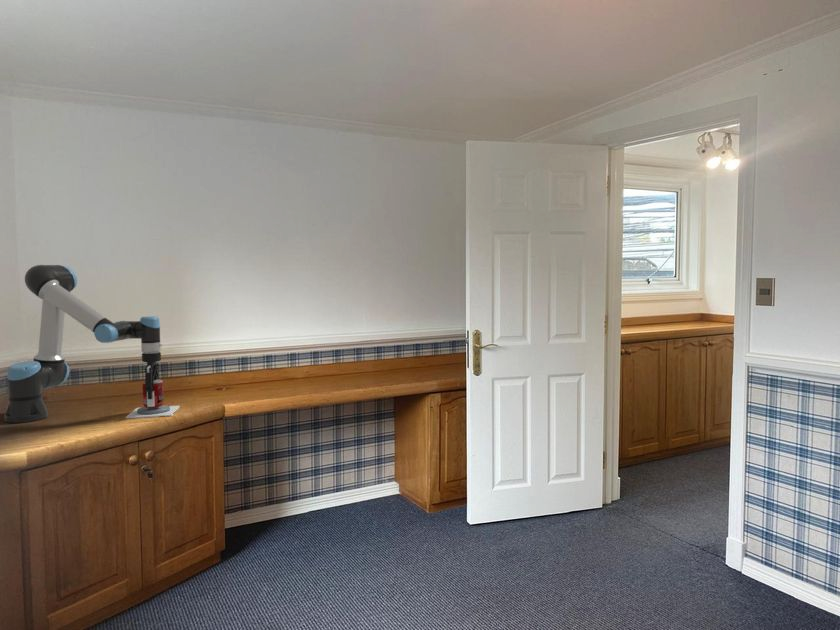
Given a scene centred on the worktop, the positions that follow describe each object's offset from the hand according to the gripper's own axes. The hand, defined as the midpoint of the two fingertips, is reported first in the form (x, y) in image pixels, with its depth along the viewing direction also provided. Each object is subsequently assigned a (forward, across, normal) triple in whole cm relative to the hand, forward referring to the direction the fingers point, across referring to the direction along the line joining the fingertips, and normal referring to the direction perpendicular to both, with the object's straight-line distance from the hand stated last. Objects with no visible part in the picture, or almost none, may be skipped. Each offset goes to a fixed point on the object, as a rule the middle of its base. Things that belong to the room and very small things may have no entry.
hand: (153, 404), depth 256 cm
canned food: (+1, 0, 0) cm, 1 cm away
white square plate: (+4, 0, 0) cm, 4 cm away
